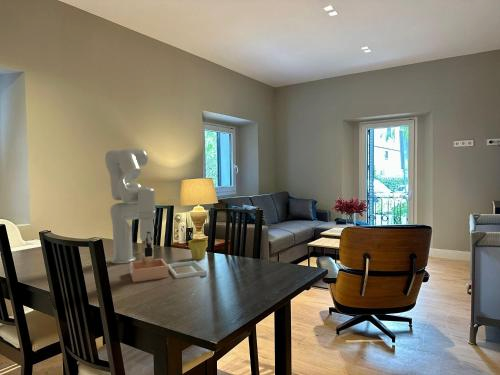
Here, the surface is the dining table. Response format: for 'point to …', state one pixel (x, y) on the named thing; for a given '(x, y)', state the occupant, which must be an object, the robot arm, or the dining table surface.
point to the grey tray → (192, 264)
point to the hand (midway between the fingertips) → (147, 254)
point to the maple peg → (147, 260)
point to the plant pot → (198, 248)
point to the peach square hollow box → (148, 270)
